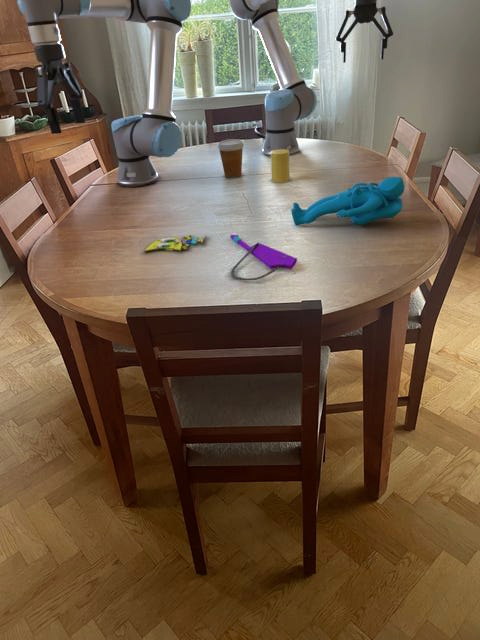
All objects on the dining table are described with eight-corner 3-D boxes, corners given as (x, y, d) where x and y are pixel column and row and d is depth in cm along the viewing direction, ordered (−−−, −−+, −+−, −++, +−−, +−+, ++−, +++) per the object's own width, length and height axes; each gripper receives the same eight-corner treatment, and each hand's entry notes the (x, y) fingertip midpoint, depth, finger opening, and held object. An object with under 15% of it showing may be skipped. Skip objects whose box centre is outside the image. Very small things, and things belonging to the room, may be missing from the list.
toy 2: (294, 191, 141) (400, 164, 130) (303, 224, 146) (406, 201, 135) (286, 212, 127) (404, 184, 117) (296, 248, 132) (410, 224, 122)
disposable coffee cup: (216, 178, 179) (213, 145, 172) (226, 170, 186) (223, 138, 180) (240, 179, 176) (237, 145, 169) (249, 171, 183) (247, 139, 176)
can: (279, 183, 168) (278, 154, 163) (268, 180, 173) (267, 151, 167) (293, 179, 171) (292, 151, 166) (282, 176, 175) (281, 148, 170)
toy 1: (199, 248, 125) (143, 249, 127) (199, 251, 125) (144, 252, 127) (206, 233, 133) (154, 234, 135) (206, 236, 133) (154, 237, 136)
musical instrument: (273, 292, 106) (311, 246, 118) (271, 284, 105) (310, 238, 117) (189, 277, 119) (231, 237, 131) (186, 270, 118) (230, 230, 130)
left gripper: (33, 46, 117) (57, 137, 128) (82, 39, 137) (100, 118, 149) (6, 49, 119) (33, 138, 130) (59, 41, 139) (78, 119, 150)
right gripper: (330, -5, 166) (329, 64, 177) (405, -13, 162) (399, 58, 174) (329, -4, 172) (328, 62, 183) (401, -12, 168) (396, 56, 180)
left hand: (69, 128), depth 139 cm, fingers open, 13 cm apart
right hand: (362, 60), depth 179 cm, fingers open, 13 cm apart
